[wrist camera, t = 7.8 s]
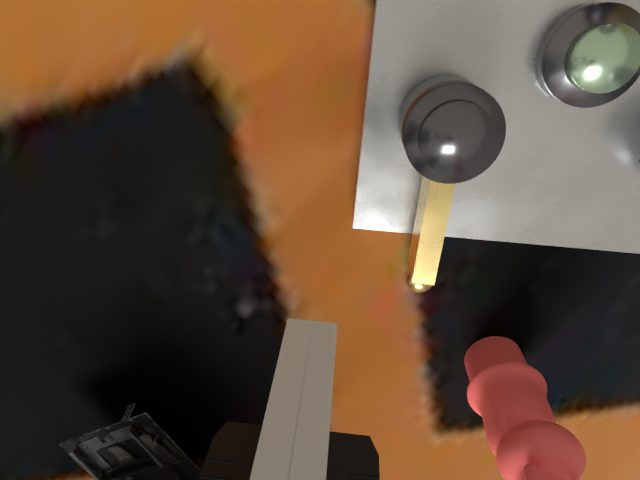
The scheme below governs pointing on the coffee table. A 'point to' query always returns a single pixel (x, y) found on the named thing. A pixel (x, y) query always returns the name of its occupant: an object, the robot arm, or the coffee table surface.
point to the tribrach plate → (514, 118)
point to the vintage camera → (131, 452)
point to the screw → (444, 158)
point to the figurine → (519, 414)
